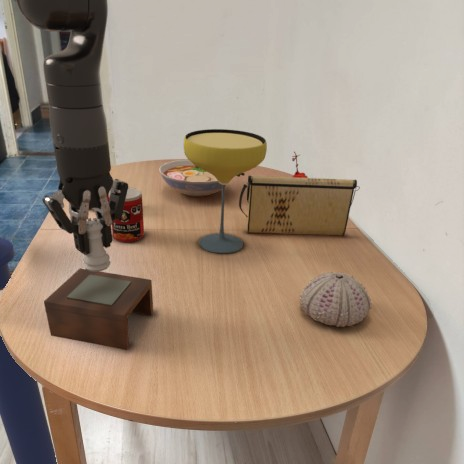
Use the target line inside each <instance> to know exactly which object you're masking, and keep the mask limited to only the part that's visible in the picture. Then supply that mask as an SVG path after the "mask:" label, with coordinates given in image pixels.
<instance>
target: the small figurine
mask: <svg viewBox="0 0 464 464" xmlns="http://www.w3.org/2000/svg"><path fill="white" fill-rule="evenodd" d="M293 153H294V155H292V159H291V161H292V162H295V168H296V171H295V172H294V175H292V177H294V178H309V177H308V175H306V173H305V172H300V171H299V164H298V157H299V156H300V154H297V153H296V151H293Z"/></svg>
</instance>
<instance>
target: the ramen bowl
mask: <svg viewBox="0 0 464 464" xmlns="http://www.w3.org/2000/svg"><path fill="white" fill-rule="evenodd" d="M158 169H159V170H158V171H159V174H160V176H161V177H162V179H163V180H164V182H165V183H166V184H167V185H168V187H170V188H171V189H173V191H176V192H178V193H180V194H182V195H183V194H184V195H185V196H188V197H191V198H203V197H207V196H209V195H213V194H215V193H218V192H220V191H222V185H221V184H220V183H219V182H218V181H217V179H216V178H215V176H214V175H212V174H210V173H209V172H207V171H205V170H203V169H201V168H199V167H197V166H196V165H194V164H193V163H192V162H190V161H189V160H188V158H187V159H179V160H173V161H168V162H165V163H163V164H162V165H160V166H159V168H158ZM245 173H246V172H244V173H241V174H239V175H236V176H235V177H238V178H239V177H241V176H245ZM226 186H227V185H225V187H226Z"/></svg>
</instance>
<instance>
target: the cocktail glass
mask: <svg viewBox="0 0 464 464" xmlns="http://www.w3.org/2000/svg"><path fill="white" fill-rule="evenodd" d="M267 143H268V142H267V140H266V139H265V138H264V137H263V136H261V135H259V134H258V133H257V134H256V133H253V132H249V131H244V130H236V129H227V128H225V129H223V128H221V129H220V128H213V129H209V128H207V129H199V130H198V129H197V130H194V131H190V132H188V133H186V134H185V136H184V138H183V152H184V156H185V157H186V158H187V159H188V160H189V161H190V162H192V163H193V164H194V165H196V166H197V167H199V168H201V169H203V170H205V171H207V172H209V173H210V174H212V175H214V176H215V178H216V179H217V181H218V182H219V183H220V184H221V185H222V190H221V207H220V208H221V209H220V223H219V225H220V226H219V231H218V232H219V233H211V234H207V235H205V236H203V237H201V238H200V240H199V241H198V243H199V247H200V248H202V249H203V250H205V251H207V252H210V253H213V254H223V255H225V254H231V253H237V252H238V251H240V250H241V249H243V247H244V242H243V240H242V239H241V238H239V237H238V236H235V235H231V234H226V233H225V229H224V228H225V227H224V226H225V225H224V224H225V222H224V221H225V220H224V219H225V195H226V194H225V193H226V186H227V185H228V184H229V183H230V182H231V181H232V180H233V179H234V178H235V177H237V176H236V175H239V174H241V173H246V172H250V171H251V170H253V169H255V168H256V167H258V166H259V165H260V164H262V163H263V161H265V159H266V155H267V151H268V150H267V148H268V145H267ZM225 185H226V186H225Z"/></svg>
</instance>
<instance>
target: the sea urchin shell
mask: <svg viewBox="0 0 464 464" xmlns="http://www.w3.org/2000/svg"><path fill="white" fill-rule="evenodd" d="M299 297H300V298H299V301H300V306H301V308H302V311H303V312H304V313H305V314H306V315H307V316H309V317H310V318H311V319H313V320H315V322H319V323H321V324H324V325H325V326H336V327H337V328H339V327H341V328H345V327H346V326H348V327H351V326H354V325H355V324H356V325H357V324H359V323H360V322H362V321H363V320H364V319H365V318H366V317H367V315H368V313H370V310H371V309H372V302H371V301H372V299H371V298H370V296H369V294H368V290H366V287H364V286H363V283H360V282H359V280H357V279H356V278H355V277H354V275H350V274H348V273H345V272H323V273H321V274H319V275H317V276H315V277H314V278H313V279H311V280H310V281H309V282H308V283H307V284H306V286H305V287H303V290H302V291H301V294H300V295H299Z"/></svg>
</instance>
